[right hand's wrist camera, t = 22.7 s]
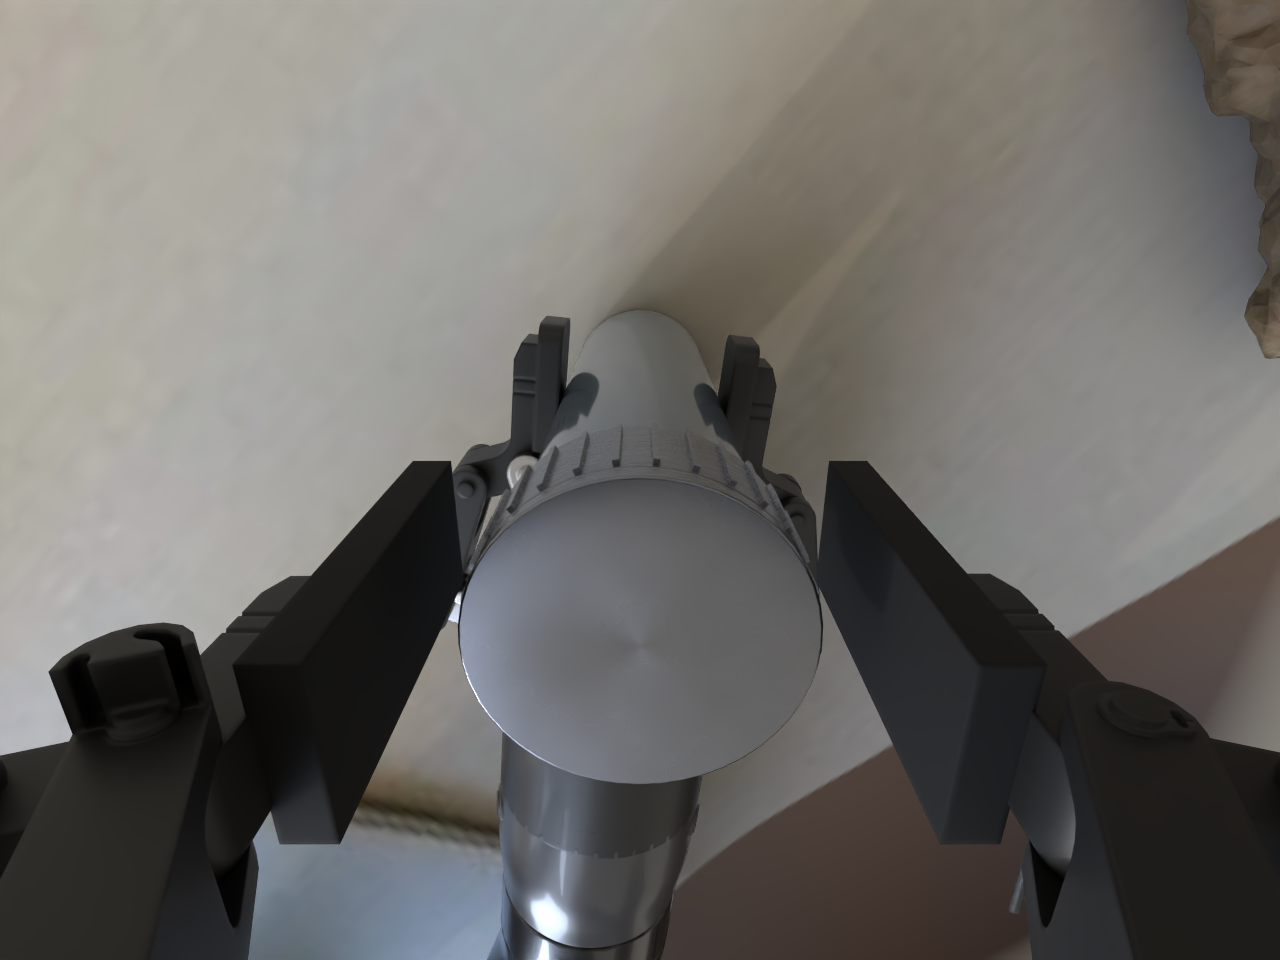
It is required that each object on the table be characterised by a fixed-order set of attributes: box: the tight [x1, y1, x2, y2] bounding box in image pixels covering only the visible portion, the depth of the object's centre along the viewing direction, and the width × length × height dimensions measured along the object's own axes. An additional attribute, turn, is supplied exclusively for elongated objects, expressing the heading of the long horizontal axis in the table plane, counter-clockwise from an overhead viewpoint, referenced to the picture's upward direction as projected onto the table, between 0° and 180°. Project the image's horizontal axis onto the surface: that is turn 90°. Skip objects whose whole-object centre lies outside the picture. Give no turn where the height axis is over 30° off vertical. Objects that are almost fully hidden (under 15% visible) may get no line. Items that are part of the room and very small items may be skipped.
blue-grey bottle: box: [536, 310, 744, 463], centre depth 19 cm, size 5×5×17 cm
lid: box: [458, 423, 823, 784], centre depth 11 cm, size 6×6×2 cm
